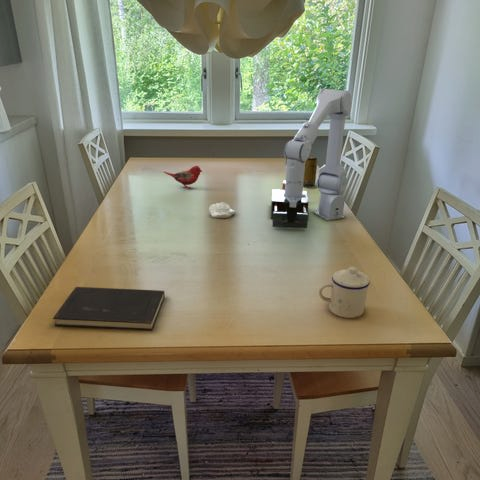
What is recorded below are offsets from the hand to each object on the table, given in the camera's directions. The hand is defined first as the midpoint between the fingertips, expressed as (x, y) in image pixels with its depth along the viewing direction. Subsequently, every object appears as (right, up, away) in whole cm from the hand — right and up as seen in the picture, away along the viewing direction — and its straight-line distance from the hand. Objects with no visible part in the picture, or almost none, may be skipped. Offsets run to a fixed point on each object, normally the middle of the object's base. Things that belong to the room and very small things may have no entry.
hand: (291, 221), depth 159 cm
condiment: (+14, +27, +55) cm, 63 cm away
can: (+2, +15, +34) cm, 38 cm away
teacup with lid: (+9, -30, -37) cm, 49 cm away
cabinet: (+1, +8, +23) cm, 24 cm away
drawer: (+1, +2, +12) cm, 12 cm away
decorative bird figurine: (-41, +24, +47) cm, 67 cm away
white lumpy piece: (-24, +7, +21) cm, 32 cm away
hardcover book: (-48, -31, -40) cm, 70 cm away
